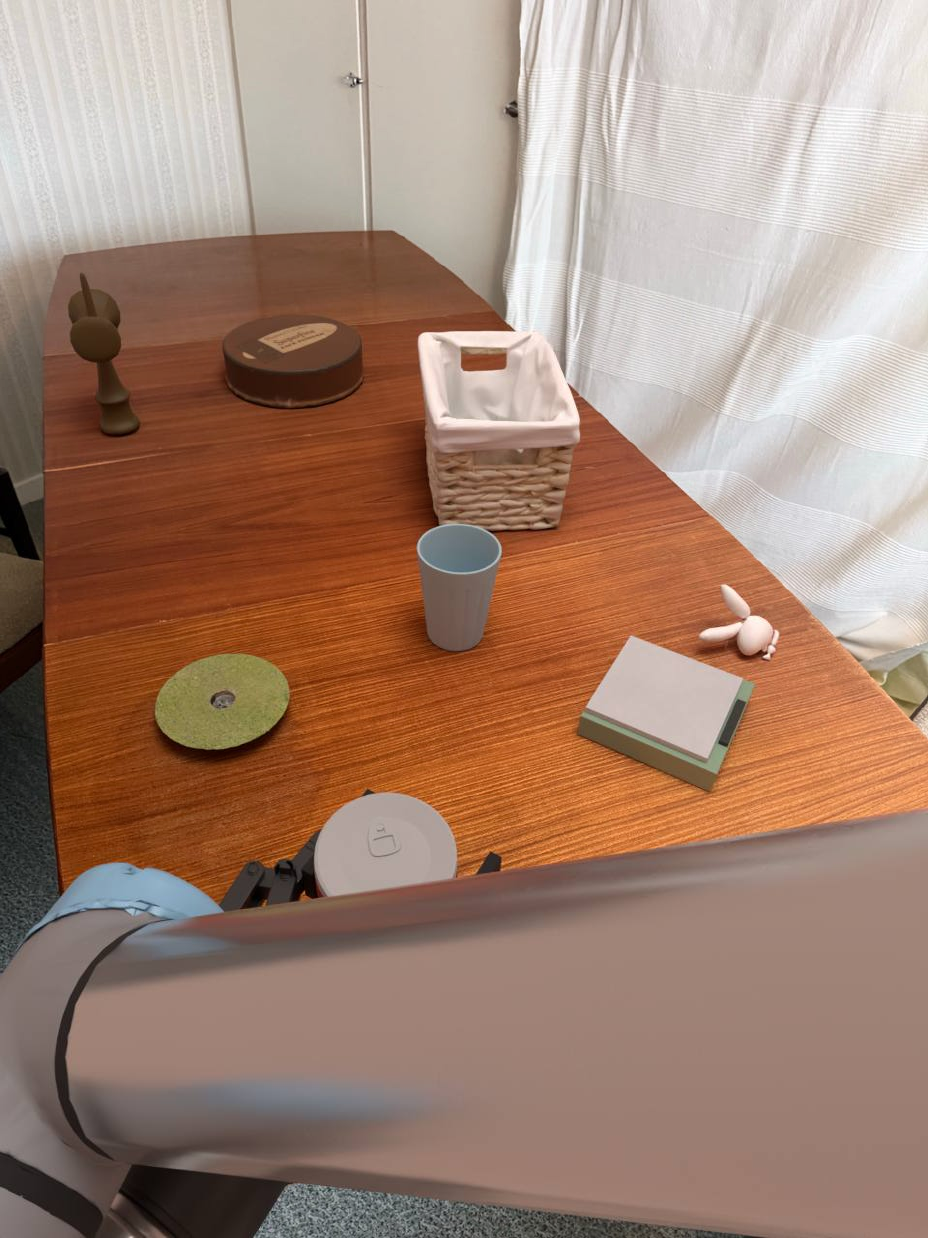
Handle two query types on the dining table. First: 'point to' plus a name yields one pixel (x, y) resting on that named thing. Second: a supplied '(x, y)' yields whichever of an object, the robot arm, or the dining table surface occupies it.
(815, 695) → the dining table surface
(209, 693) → the green grinding disc
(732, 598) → the rabbit figurine
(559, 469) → the basket
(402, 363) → the dining table surface
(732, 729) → the scale
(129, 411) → the kendama
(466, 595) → the cup
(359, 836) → the canned food
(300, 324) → the container
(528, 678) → the dining table surface
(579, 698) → the dining table surface
